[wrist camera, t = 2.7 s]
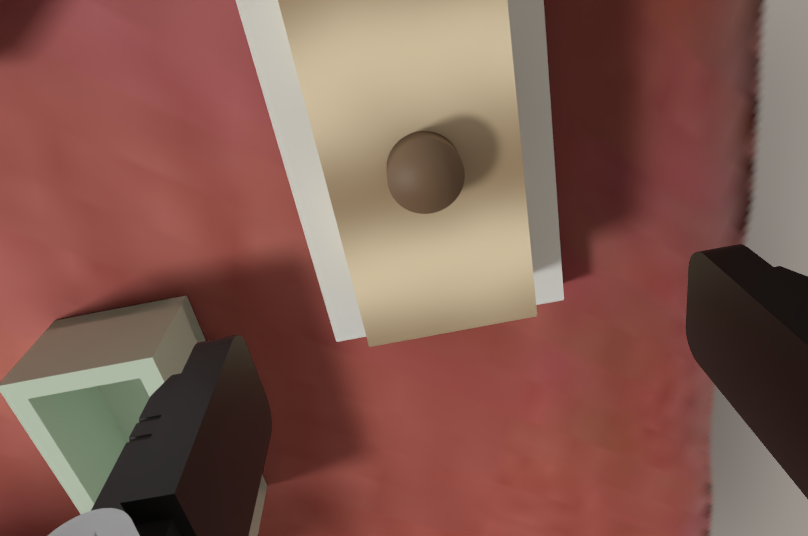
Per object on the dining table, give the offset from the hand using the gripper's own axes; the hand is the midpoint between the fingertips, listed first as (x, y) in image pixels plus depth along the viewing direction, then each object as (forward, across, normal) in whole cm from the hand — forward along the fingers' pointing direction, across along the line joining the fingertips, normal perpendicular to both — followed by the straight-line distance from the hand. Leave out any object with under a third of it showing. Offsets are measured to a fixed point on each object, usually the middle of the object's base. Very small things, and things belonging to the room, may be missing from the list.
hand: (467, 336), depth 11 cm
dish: (+14, +14, +11) cm, 22 cm away
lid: (+12, 0, 0) cm, 13 cm away
